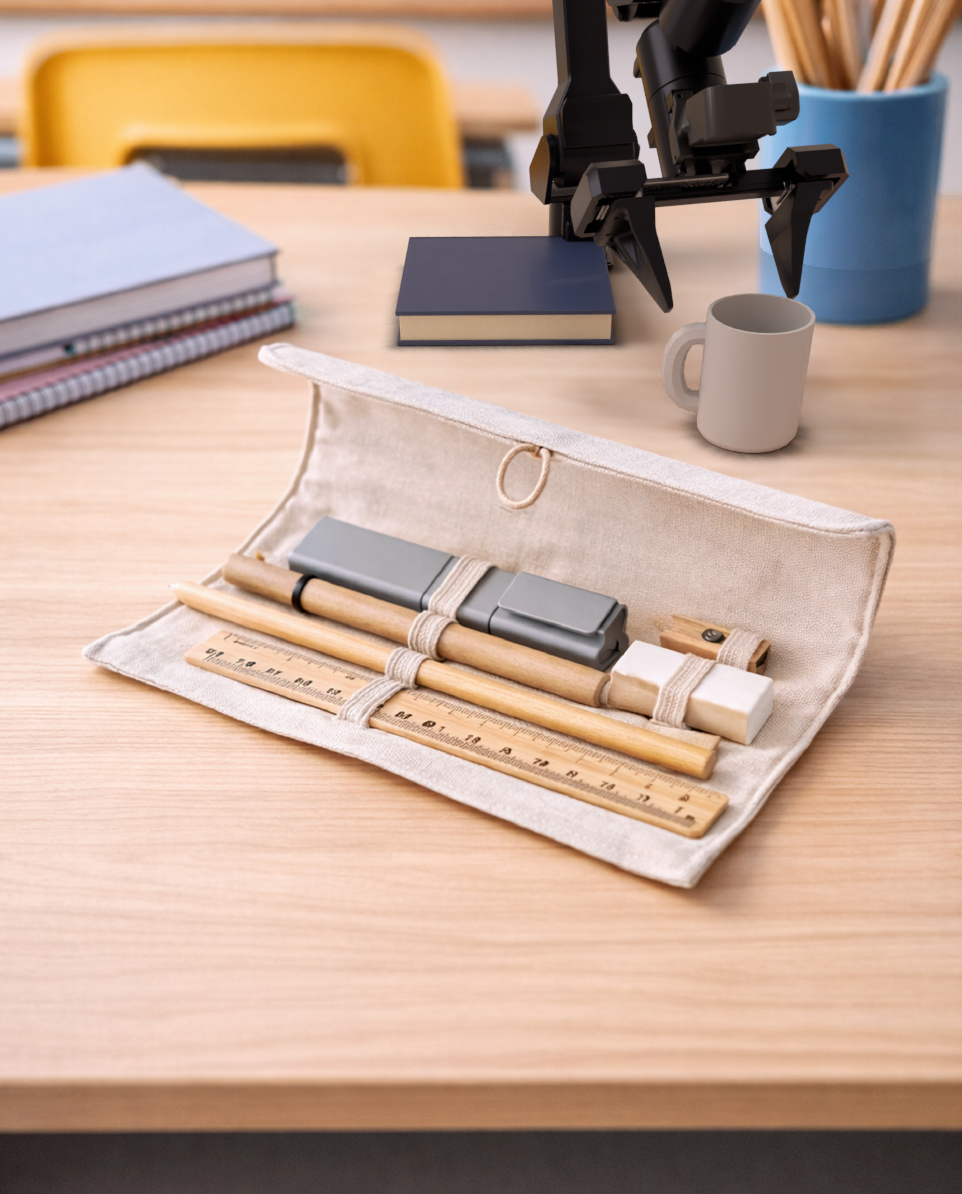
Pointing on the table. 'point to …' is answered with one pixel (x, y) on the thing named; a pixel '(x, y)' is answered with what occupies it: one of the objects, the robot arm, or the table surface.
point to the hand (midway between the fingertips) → (732, 303)
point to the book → (504, 292)
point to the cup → (744, 370)
